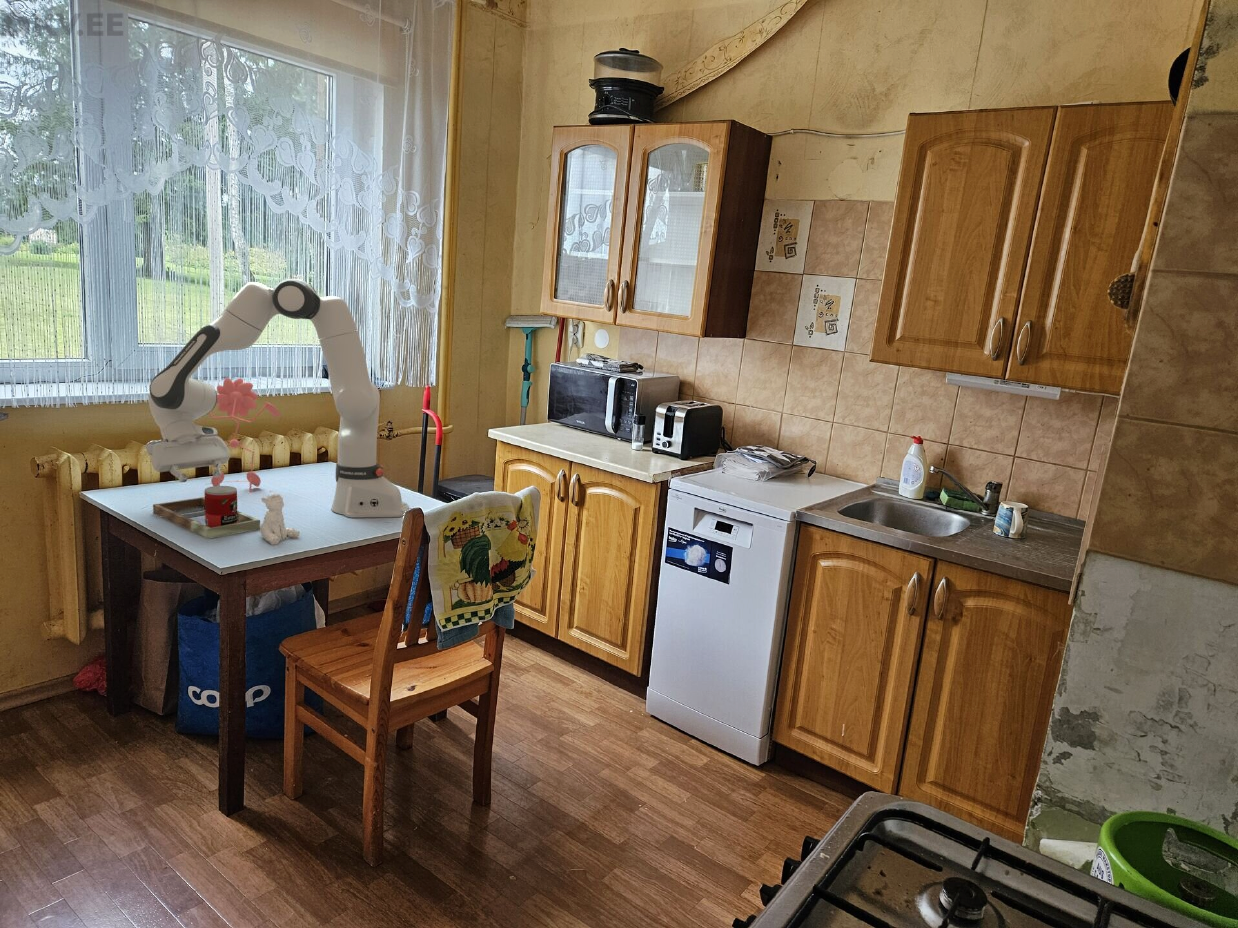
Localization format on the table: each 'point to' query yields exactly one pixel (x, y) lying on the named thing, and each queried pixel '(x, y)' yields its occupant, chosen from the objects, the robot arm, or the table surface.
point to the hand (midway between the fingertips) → (201, 478)
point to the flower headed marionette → (236, 401)
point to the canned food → (220, 506)
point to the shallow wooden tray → (174, 516)
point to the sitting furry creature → (275, 521)
